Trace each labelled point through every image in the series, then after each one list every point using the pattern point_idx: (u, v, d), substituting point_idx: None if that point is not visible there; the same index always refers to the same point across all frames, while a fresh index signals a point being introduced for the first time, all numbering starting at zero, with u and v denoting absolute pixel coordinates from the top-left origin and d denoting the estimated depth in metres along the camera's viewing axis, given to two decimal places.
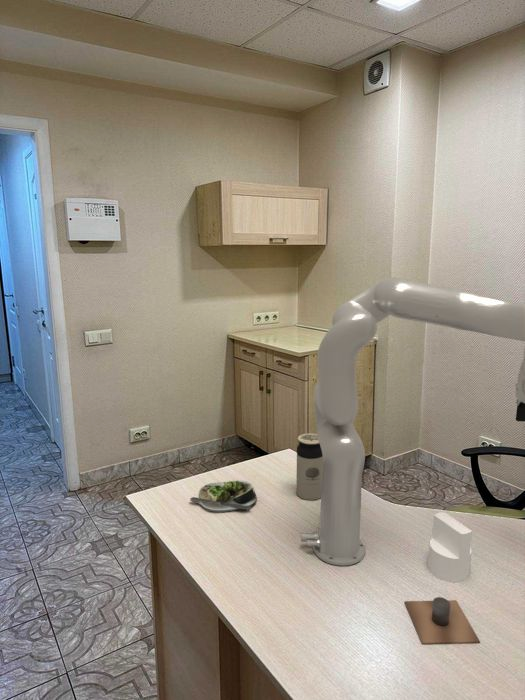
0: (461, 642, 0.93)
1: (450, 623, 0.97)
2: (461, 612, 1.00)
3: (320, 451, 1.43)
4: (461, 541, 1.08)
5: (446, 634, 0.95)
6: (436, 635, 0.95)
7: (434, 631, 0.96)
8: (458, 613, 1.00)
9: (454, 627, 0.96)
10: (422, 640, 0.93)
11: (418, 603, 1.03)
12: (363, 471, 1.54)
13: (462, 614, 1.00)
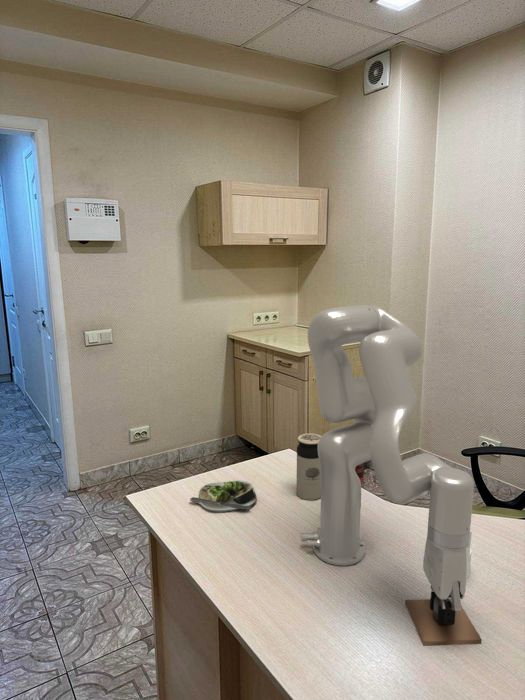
0: (463, 640, 0.93)
1: None
2: (462, 610, 1.00)
3: None
4: None
5: (447, 632, 0.95)
6: (437, 633, 0.94)
7: (435, 629, 0.95)
8: (459, 611, 1.00)
9: (455, 625, 0.96)
10: (424, 639, 0.93)
11: (419, 601, 1.03)
12: (363, 471, 1.54)
13: (463, 612, 1.00)
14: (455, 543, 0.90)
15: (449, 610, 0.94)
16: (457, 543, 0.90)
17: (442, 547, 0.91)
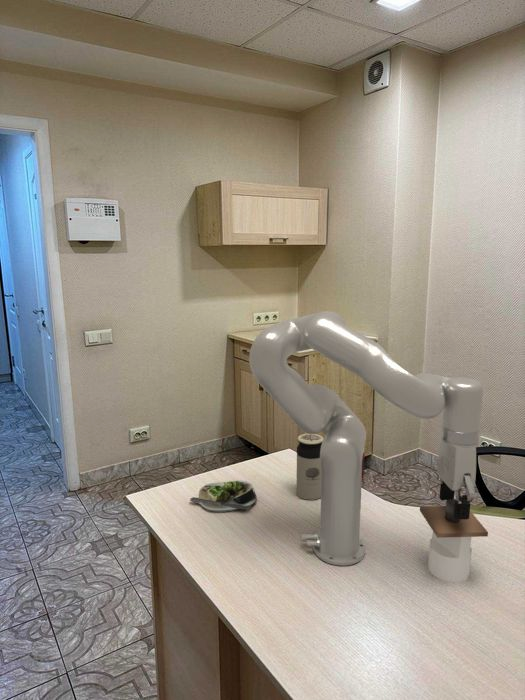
0: (472, 533, 1.06)
1: (461, 520, 1.11)
2: (470, 513, 1.14)
3: None
4: (461, 541, 1.08)
5: (458, 527, 1.08)
6: (449, 528, 1.08)
7: (447, 525, 1.09)
8: None
9: (465, 523, 1.10)
10: (437, 531, 1.06)
11: (432, 507, 1.16)
12: (363, 471, 1.54)
13: (471, 514, 1.13)
14: (466, 440, 1.03)
15: (464, 504, 1.05)
16: (468, 440, 1.04)
17: (455, 444, 1.04)
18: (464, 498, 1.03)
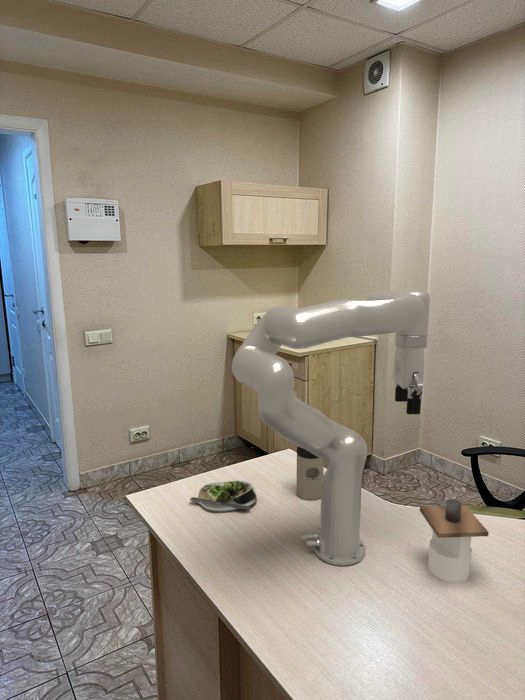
0: (472, 532, 1.06)
1: (461, 520, 1.11)
2: (470, 513, 1.14)
3: None
4: (461, 541, 1.08)
5: (458, 527, 1.08)
6: (449, 528, 1.08)
7: (448, 526, 1.09)
8: (468, 514, 1.13)
9: (465, 523, 1.10)
10: (438, 532, 1.06)
11: (432, 507, 1.16)
12: (363, 471, 1.54)
13: (471, 514, 1.13)
14: (415, 342, 1.17)
15: (415, 400, 1.18)
16: (416, 342, 1.17)
17: (405, 347, 1.18)
18: (414, 392, 1.16)
